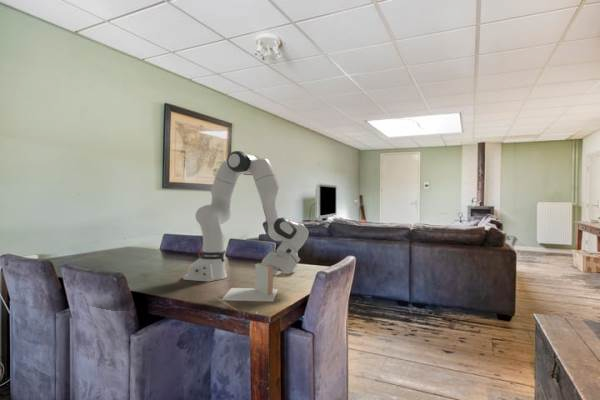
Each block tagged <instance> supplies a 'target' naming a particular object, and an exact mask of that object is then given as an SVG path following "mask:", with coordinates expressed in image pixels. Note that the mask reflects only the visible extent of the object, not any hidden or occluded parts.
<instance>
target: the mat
mask: <svg viewBox="0 0 600 400" xmlns="http://www.w3.org/2000/svg"><path fill="white" fill-rule="evenodd" d="M278 290H279V288H273V294H270V295H266V294H263V293H261V292H259V291H257V290H255V287H254V288H252V287H251V288H250V287H231V288H230V289H228V291H227V292H226V293H225V295H224V296H222V298H221V299H220V302H226V301H237V302H238V301H241V302H243V301H244V302H245V301H246V302H247V301H248V302H274V301H275V298H276V295H277V293H278Z"/></svg>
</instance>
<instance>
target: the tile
mask: <svg viewBox="0 0 600 400" xmlns="http://www.w3.org/2000/svg"><path fill="white" fill-rule="evenodd" d="M254 267H255V269H254V270H255V271H254V272H255V273H254V282H255V283H254V288H255V290H257V291H259V292H261V293H263V294H266V295H270V294H273V289H274V285H273V281H274V277H273V276H274V275H273V267H271V266H268V265H265V264H262V262H261V263H260V262H259V263H255V266H254Z"/></svg>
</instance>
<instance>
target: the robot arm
mask: <svg viewBox="0 0 600 400" xmlns="http://www.w3.org/2000/svg"><path fill="white" fill-rule="evenodd" d="M241 175H245V176H252V178H253V179H254V185H255V186H256V189H257V193H258V195H259V198H260V202H261V204H262V209H263V213H264V216H265V222H266V237H267V239H268V240H269V241H270V242H272V243H274V244H279V243H280V245H279V246H278V247H277V248H276V250H273V251H270V252H268V254H266V256H265V257H263V259H262V260H261V263H262V264H265V265H268V266H271V267H273V276H274V275H276V274H277V273H278V272H280V273H283V274H287V275H289V274H292V273H291V272H292V270H293V269H294V268H295V266H296V265H298V264H297V263H299V262H300V261H301V258H300V257H299V255H298V256H297V255H296V254H298V252H299V250H300V249H301V248H302V247H303V246H304V245H305V243H306V241H307V239H308V238H309V234H310V233H309V230H308V227H306V226H305V224H303V223H301V222H294V221H291V220H290V219H288V218H287V217H279V215H278V212H277V211H278V210H277V209H276V208H277V207H276V199H277V196H278V193H279V188H280V187H279V182H278V177H277V175H276V173H275V169H274V168H273V166H272V164H271V162H270V161H269V159H268V158H264V157H261V158H259V157H258V156H256V155H254V154H252V153H249V152H244V151H242V150H241V151H240V150H236V151H235V150H234V151H232V152H230V153H229V154H228V156H227V160H223V162H221V164H220V166H219V167H218V170H217V172H216V175H215V177H214V180H213V183H212V185H211V186H212V187H211V190H210V194H211V202H210V204H206V205H203V206H201V207H199V208H197V210H196V212H195V220H196V221H197V223H198V224H199V227H200V231H201V234H202V250H201V251H200V252H199V253H198V256H199V257H198V259H196V260H195V261H194V262H192V263H191V264H190V265H189V266H188V269H187V273H186V274H184V275H183V277H182V279H183V281H184V280H186V281H187V280H188V281H196V282H197V281H199V282H212V281H218V280H223V279H226V278H227V277H228V274H227V270H226V262H225V261H226V250H225V235H224V234H223V232H222V228H221V225H222V224H225V223H226V222H227V221H229V220H230V218H231V216H232V214H231V201H232V200H231V199H232V196H233V193H234V189H235V186H236V184H237V181H238V178H239V177H240V176H241Z"/></svg>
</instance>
